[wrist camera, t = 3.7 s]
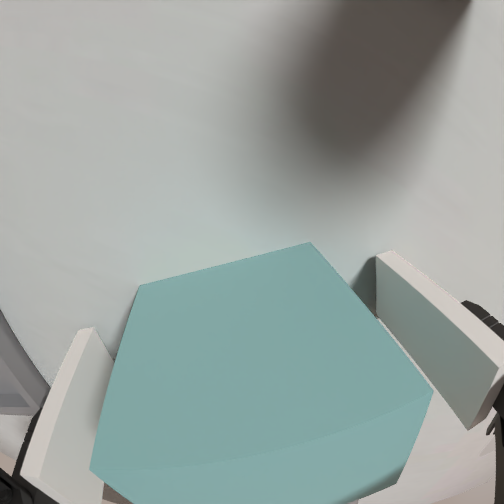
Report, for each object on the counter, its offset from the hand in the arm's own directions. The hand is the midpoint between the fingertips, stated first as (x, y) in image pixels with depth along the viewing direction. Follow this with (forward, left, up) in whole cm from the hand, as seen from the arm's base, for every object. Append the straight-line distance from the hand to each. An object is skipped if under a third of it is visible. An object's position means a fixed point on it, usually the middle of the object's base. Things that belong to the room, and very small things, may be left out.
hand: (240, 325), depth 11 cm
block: (0, 0, 0) cm, 0 cm away
